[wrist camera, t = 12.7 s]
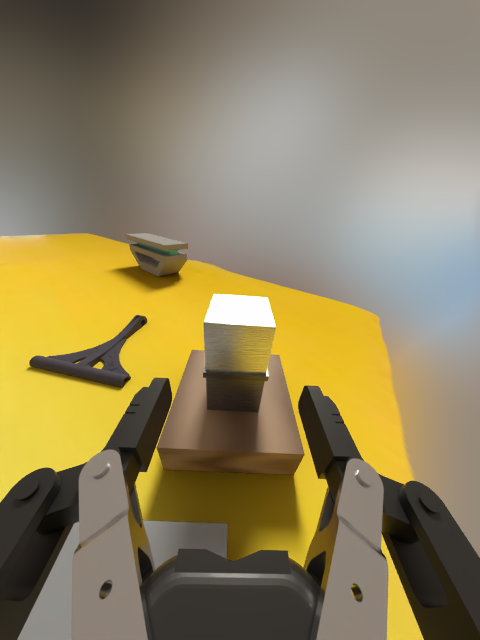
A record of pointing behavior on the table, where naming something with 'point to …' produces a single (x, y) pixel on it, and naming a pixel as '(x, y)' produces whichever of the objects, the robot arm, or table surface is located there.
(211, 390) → the block
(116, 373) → the bracket
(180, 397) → the stand
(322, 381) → the table surface
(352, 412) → the table surface
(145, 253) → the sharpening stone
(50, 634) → the stand
